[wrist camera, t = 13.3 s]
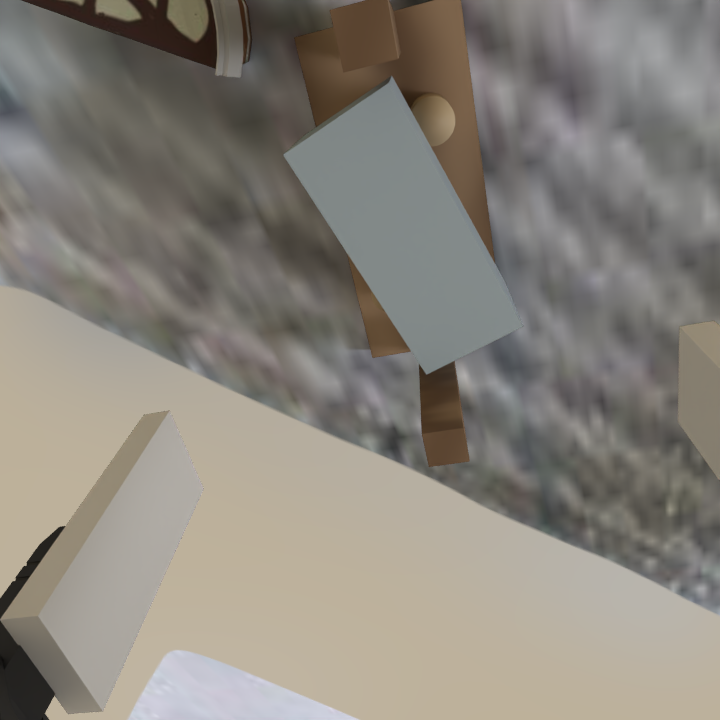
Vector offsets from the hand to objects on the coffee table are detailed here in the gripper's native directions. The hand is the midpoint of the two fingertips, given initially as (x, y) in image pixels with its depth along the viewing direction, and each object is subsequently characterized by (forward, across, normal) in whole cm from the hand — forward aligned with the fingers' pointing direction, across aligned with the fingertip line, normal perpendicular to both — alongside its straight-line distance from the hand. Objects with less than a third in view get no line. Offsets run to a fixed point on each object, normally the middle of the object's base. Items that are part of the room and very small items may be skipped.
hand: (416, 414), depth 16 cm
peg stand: (+25, 0, 0) cm, 25 cm away
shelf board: (+20, 0, 0) cm, 20 cm away
